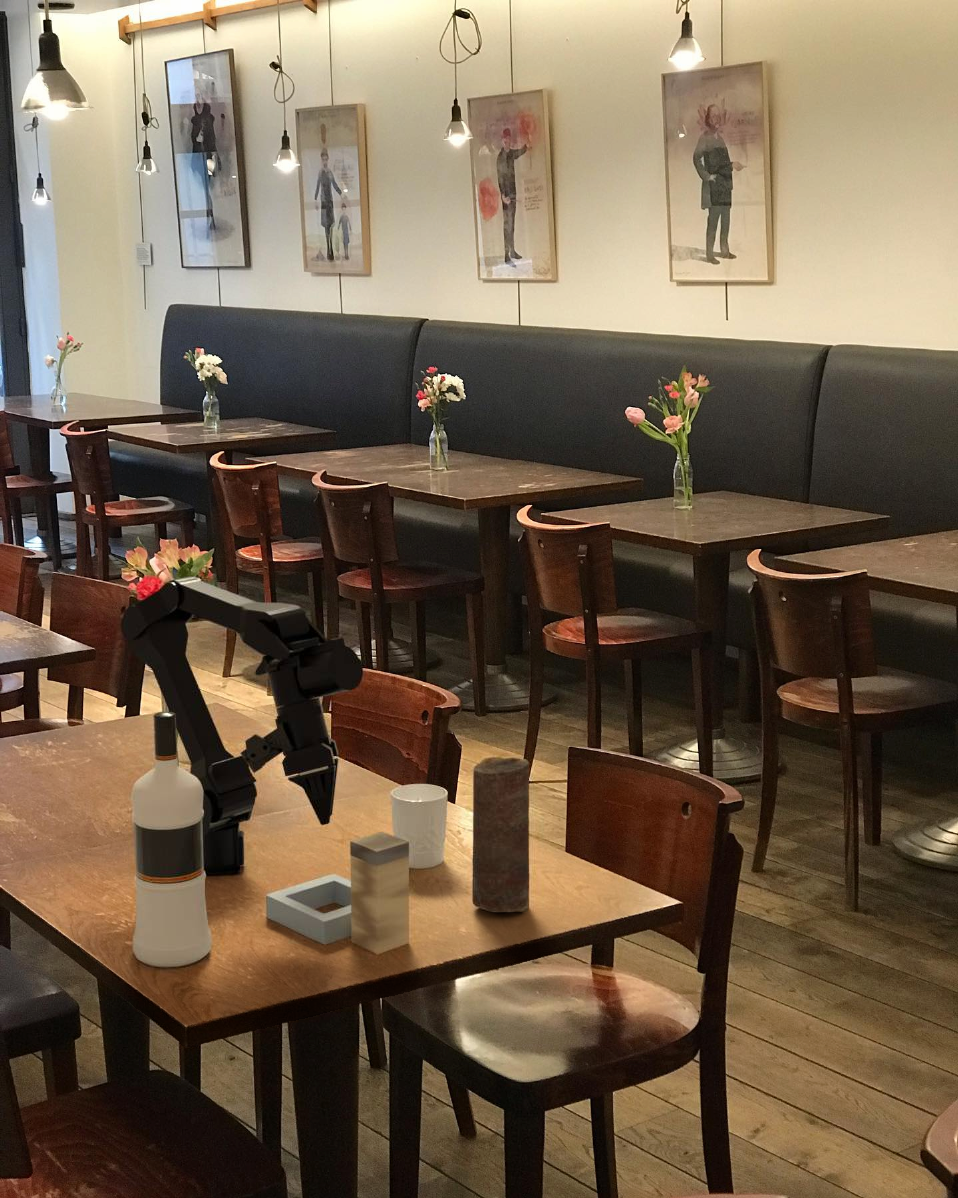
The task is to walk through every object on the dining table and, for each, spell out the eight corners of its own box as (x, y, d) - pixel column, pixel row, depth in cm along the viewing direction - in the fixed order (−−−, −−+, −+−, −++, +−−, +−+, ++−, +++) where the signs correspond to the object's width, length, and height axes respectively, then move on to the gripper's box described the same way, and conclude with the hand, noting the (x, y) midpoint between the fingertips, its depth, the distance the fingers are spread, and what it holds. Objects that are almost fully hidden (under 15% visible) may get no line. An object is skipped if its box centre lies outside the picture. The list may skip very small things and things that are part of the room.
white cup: (440, 872, 220) (440, 803, 218) (384, 868, 221) (384, 799, 219) (452, 853, 227) (453, 785, 225) (399, 849, 229) (398, 782, 227)
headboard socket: (266, 917, 204) (265, 894, 203) (334, 895, 211) (333, 873, 211) (324, 945, 195) (324, 921, 195) (393, 921, 203) (393, 898, 202)
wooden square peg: (351, 942, 196) (350, 841, 194) (382, 931, 200) (382, 831, 197) (377, 954, 193) (376, 851, 190) (409, 943, 196) (408, 842, 194)
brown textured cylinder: (509, 925, 202) (510, 772, 198) (460, 913, 205) (460, 763, 202) (539, 906, 208) (541, 758, 204) (491, 894, 212) (492, 749, 208)
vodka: (117, 956, 191) (107, 714, 186) (176, 933, 199) (168, 698, 193) (168, 977, 186) (160, 727, 180) (227, 952, 193) (221, 711, 187)
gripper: (243, 714, 215) (271, 827, 215) (229, 721, 196) (259, 845, 196) (323, 694, 216) (351, 807, 215) (317, 699, 197) (348, 822, 197)
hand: (326, 820), depth 206 cm, fingers open, 9 cm apart
